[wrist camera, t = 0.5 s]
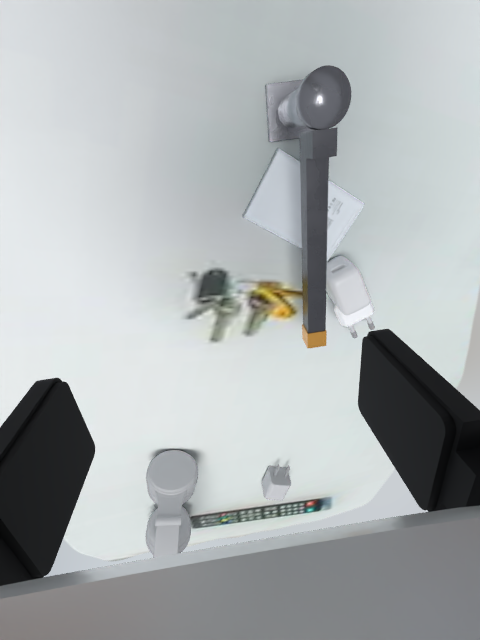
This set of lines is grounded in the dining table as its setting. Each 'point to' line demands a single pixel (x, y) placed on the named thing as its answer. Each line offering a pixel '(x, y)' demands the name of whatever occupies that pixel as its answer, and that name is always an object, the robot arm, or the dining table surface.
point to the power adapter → (348, 293)
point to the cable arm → (317, 186)
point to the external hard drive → (297, 204)
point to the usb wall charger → (276, 482)
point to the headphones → (170, 501)
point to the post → (283, 111)
